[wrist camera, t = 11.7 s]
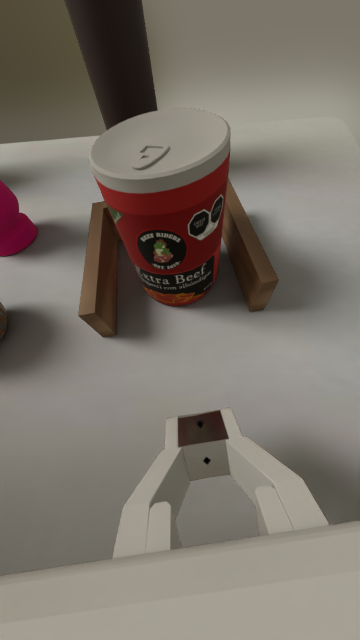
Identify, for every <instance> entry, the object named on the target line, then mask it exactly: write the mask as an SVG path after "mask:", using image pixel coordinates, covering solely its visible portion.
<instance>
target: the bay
mask: <svg viewBox="0 0 360 640" xmlns="http://www.w3.org/2000/svg"><path fill="white" fill-rule="evenodd" d="M222 238H223V240H224V243H225V246H226V248H227V251H228V254H229V257H230V259H231V262H232V265H233V268H234V270H235V273H236V276H237V279H238V281H239V284H240V287H241V289H242V292H243V295H244V298H245V300H246V303H247V306H248V309H249V311H250V312H252V311H258V310H263V309H264V307H265V305H266V303H267V302H268V300H269V298H270V296H271V294H272V292H273V290H274V288H275V286H276V284H277V283H278V281H279V279H278V277H277V275H276V273H275V271H274V269H273V267H272V265H271V263H270V261H269V259H268V257H267V255H266V253H265V251H264V249H263V247H262V245H261V243H260V241H259V239H258V237H257V235H256V233H255V231H254V229H253V227H252V225H251V223H250V221H249V219H248V217H247V215H246V213H245V211H244V209H243V207H242V205H241V203H240V201H239V199H238V197H237V195H236V193H235V191H234V189H233V187H232V185H231V183H230V181H229V178H228V181H227V190H226V200H225V209H224V219H223V228H222ZM118 240H122V239H121V236H120V234H119V232H118V230H117V227H116V225H115V223H114V221H113V218H112V216H111V214H110V212H109V209H108V207H107V205H106V203H105V201H103V202H97V203H93V204H92V212H91V220H90V228H89V235H88V243H87V251H86V259H85V267H84V274H83V282H82V290H81V298H80V305H79V313H78V316H79V317H80V318H82V319H83V320H84V321H85V322H86V323H87V324H88V325H90V326H91V327H92V328H93V329H94V330H95V331H97V332H98V333H99V334H100V335H101V336H102V337H108V336H114V335H116V326H117V271H118Z"/></svg>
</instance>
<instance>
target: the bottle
mask: <svg viewBox="0 0 360 640" xmlns="http://www.w3.org/2000/svg"><path fill="white" fill-rule="evenodd" d="M65 3H66V7H67V10H68V12H69V15H70V19H71V22H72V25H73V28H74V31H75V34H76V37H77V40H78V43H79V46H80V49H81V52H82V55H83V58H84V62H85V65H86V68H87V71H88V74H89V77H90V80H91V83H92V86H93V89H94V92H95V95H96V98H97V101H98V104H99V108H100V111H101V114H102V117H103V120H104V122H105V125H106V129H107V130H109V129H110V128H112V127H113V126H115V125H117V124H119V123H121V122H123V121H125V120H127V119H130V118H133V117H135V116H138V115H142V114H145V113H149V112H153V111H158V110H157V104H156V96H155V90H154V83H153V76H152V69H151V62H150V55H149V48H148V41H147V35H146V27H145V21H144V15H143V7H142V0H65Z"/></svg>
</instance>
